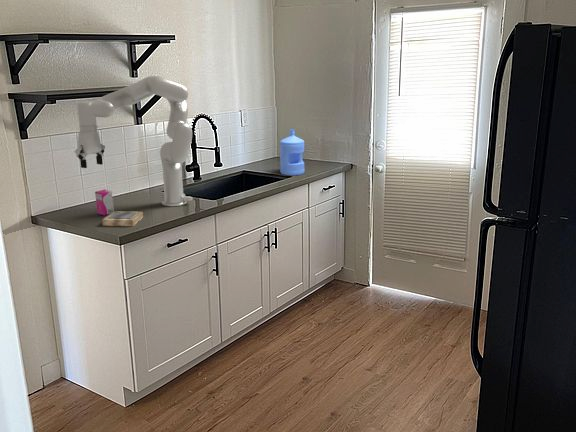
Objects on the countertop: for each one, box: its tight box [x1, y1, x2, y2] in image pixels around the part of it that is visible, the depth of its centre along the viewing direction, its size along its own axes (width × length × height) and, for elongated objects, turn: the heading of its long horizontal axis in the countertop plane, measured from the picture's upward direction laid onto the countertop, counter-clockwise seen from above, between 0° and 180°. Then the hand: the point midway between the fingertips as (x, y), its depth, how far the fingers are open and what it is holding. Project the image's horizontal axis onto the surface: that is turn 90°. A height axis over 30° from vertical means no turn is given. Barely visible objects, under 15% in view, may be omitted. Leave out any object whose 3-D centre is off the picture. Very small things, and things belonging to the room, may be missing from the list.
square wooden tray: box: [101, 210, 144, 227], centre depth 256 cm, size 14×14×3 cm
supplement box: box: [94, 188, 115, 217], centre depth 268 cm, size 6×6×12 cm
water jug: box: [279, 128, 306, 176], centre depth 355 cm, size 16×16×28 cm
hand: (92, 166), depth 259 cm, fingers open, 9 cm apart
